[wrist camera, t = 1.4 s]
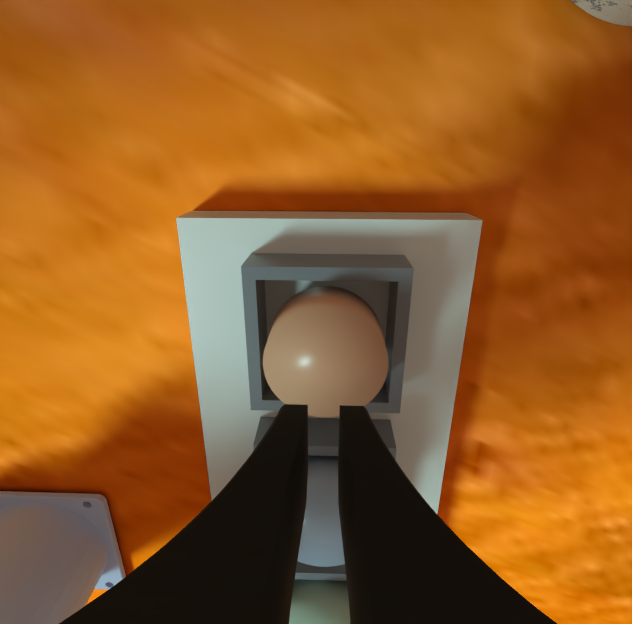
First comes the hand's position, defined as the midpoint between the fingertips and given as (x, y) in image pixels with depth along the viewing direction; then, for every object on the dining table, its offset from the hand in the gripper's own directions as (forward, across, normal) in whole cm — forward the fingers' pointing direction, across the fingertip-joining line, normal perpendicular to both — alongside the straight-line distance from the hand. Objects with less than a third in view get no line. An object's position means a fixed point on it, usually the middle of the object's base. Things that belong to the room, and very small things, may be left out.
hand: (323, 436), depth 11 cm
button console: (+9, 0, +8) cm, 12 cm away
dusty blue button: (+6, 0, +8) cm, 10 cm away
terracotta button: (+6, 0, 0) cm, 6 cm away
